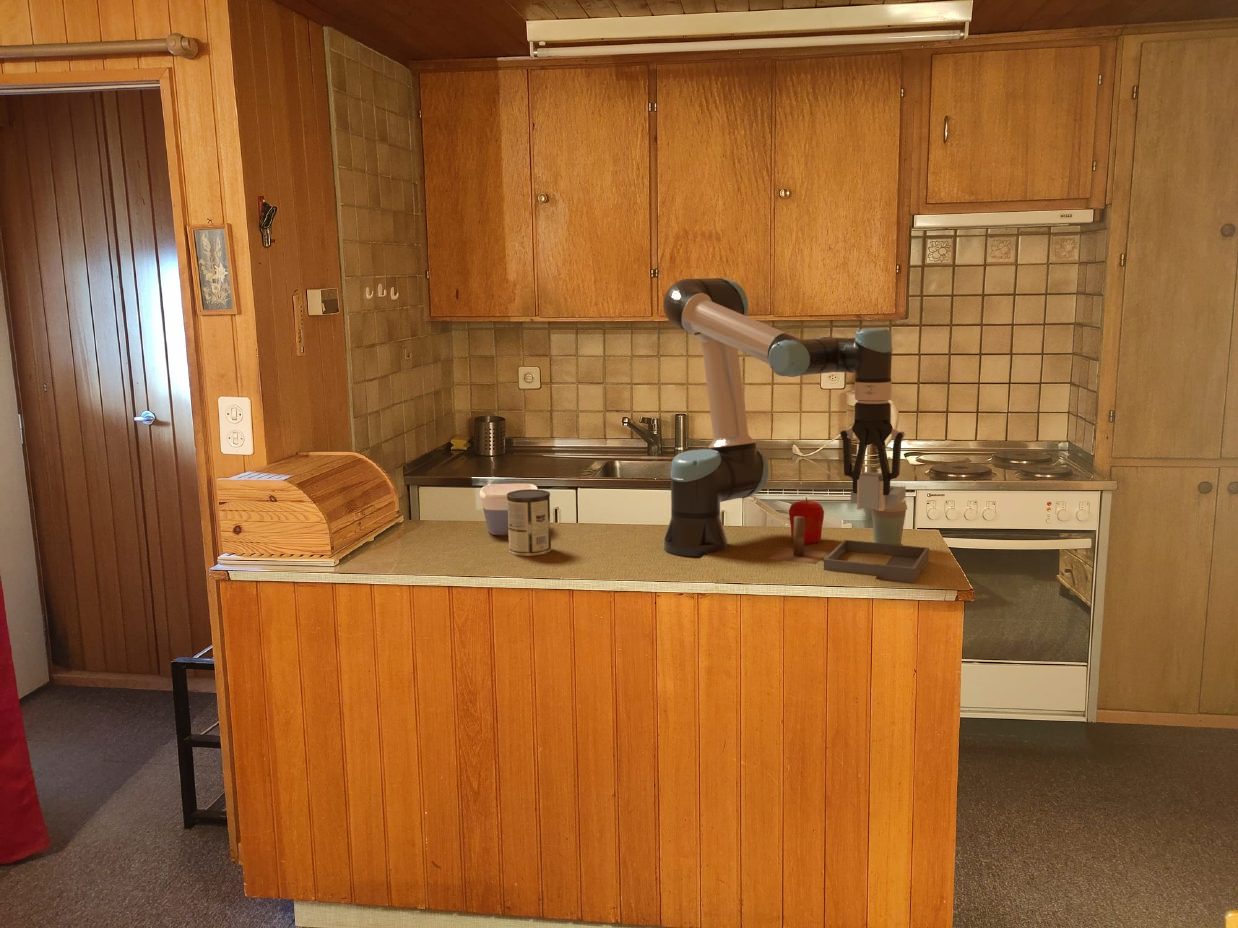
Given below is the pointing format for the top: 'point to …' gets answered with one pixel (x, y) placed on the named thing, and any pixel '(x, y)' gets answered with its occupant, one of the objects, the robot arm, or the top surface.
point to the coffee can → (529, 522)
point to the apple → (808, 519)
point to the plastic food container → (499, 505)
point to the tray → (899, 567)
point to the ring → (875, 492)
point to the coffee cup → (889, 523)
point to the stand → (798, 547)
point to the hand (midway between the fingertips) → (870, 508)
